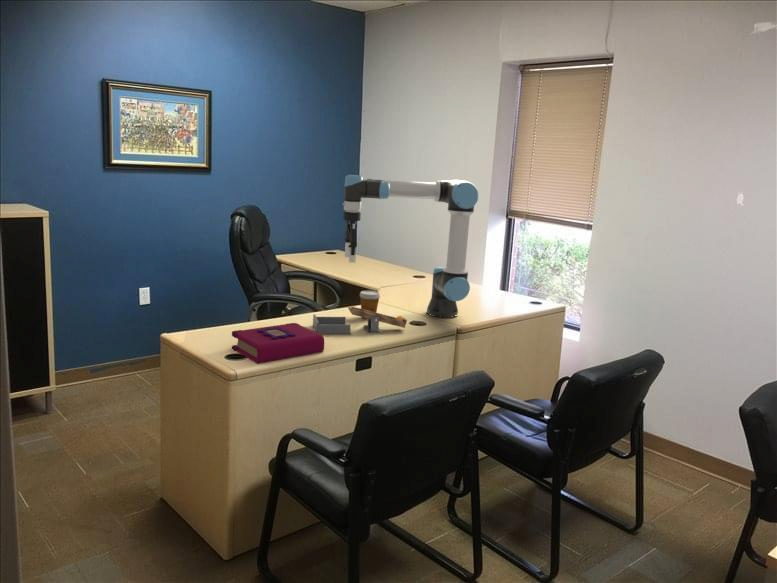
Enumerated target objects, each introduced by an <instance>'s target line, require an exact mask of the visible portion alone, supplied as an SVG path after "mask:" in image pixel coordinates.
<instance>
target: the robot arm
mask: <svg viewBox="0 0 777 583" xmlns="http://www.w3.org/2000/svg"><path fill="white" fill-rule="evenodd" d="M343 194H344V195H343V196H344V197H343V198H344V199H343V202H342V206H343V210H344V211H343V213H342V214H343V217H342V219H343V221H346V227H345V228H346V229H345V235H344V236H345V237H344V241H345V244H344V246H345V247H344V258H348V263H356V255H357V254H356V253H357V246H358V240H357V239H358V237H357V236H358V234H357V233H358V231H357V227H358V224H356V222H359V221H361V217H362V216H361V215H362V213H361V211H362V199H379V200H382V199H383V200H386V199H388V198H400V199H401V198H403V199H404V198H405V199H419V200H420V199H423V200H424V199H425V200H434V201H435V202H438V203H439V202H440V203H441V202H442V203H444V204H445V203H446V204H448V206H447V211H448V213H449V214H450V217H449V218H450V220H449V230H448V231H449V232H448V241H447V242H448V245H447V253H446V265H445V266H444V267H443V266H441V267H439V266H437V267H434V268H433V272H432V287H431V296H430V297H431V298H430V301H429V302H428V304H427V308H426V314H427V313H428V314H427V315H429V314H431V315H434V316H433V317H435V316H441V317H440V318H442V317H451V316H455V315H457V314H458V315H459V309H458V306H457V305H458V304H457V302H460V301H462V300H465V298H467V296H468V295H469V293H470V290H471V289H470V288H471V286H470V283H469V280H468V278H469V277H468V276H469V271H468V269H467V268H466V260H467V252H468V250H467V249H468V238H469V231H470V218H471V215H472V214H473V213H474V211H475V206H476V205H477V203H478V201H479V194H480V193H479V191H478V188H477V186H476V185H475V184H474V183H472V182H470V181H469V180H460V179H452V180H451V179H450V180H436V181H435V182H430V181H429V182H425V181H412V180H411V181H410V180H409V181H407V180H388V179H387V180H386V179H374V178H373V179H372V178H367V179H365V180H364V179H363V176H362V175H356V174H348V175H346V176H345V179H344V193H343ZM431 315H430V316H431Z"/></svg>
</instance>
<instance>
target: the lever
mask: <svg viewBox="0 0 777 583" xmlns="http://www.w3.org/2000/svg"><path fill="white" fill-rule="evenodd" d="M347 309H348V310H349V312H350V314H351V315H353V316H356V317H360V318H362V317H364V318H368V319H371V318H372V317H379V323H384V324H387V325H392V326H396V327H400V328H403V329H405V327H406V324H407V322H408V320H407V319H406V318H405V316H404V317H403V316H402V317H403V318H404V320H403V321H399V320H396V318H397V317H394V316H390V315H387V314H382V313H381V312H380V313H379V312H372V311H368V310H364V309H361V307H360V308H359V307H356V306H349V305H348V307H347Z"/></svg>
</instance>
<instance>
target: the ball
mask: <svg viewBox="0 0 777 583" xmlns="http://www.w3.org/2000/svg"><path fill="white" fill-rule="evenodd" d="M395 318H396V320H399V321H403V320H404V318H405V317H404V318H403V316H402V315H398V316H397V317H395Z"/></svg>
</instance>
